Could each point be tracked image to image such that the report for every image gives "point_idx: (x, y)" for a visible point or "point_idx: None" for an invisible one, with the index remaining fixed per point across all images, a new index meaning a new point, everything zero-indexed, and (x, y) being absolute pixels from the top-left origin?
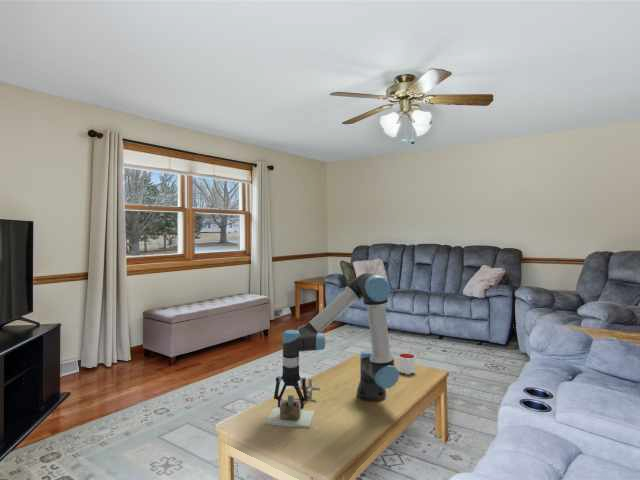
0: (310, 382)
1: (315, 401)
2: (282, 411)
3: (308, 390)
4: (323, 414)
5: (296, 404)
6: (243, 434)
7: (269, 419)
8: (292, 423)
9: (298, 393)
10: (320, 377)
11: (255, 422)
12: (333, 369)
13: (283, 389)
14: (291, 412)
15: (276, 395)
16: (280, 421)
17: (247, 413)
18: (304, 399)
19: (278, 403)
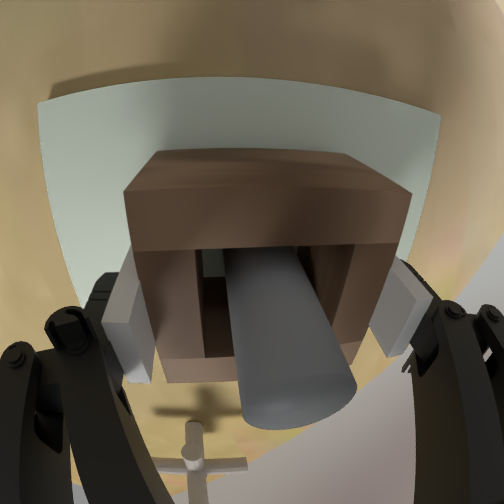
0: (194, 493)
1: (156, 409)
2: (359, 174)
3: (189, 460)
4: (45, 312)
5: (193, 321)
6: (492, 21)
7: (418, 157)
8: (203, 94)
9: (115, 489)
10: (206, 478)
11: (472, 145)
12: (186, 489)
13: (487, 466)
14: (231, 167)
15: (502, 341)
16: (333, 122)
17: (488, 243)
18: (29, 365)
19: (423, 284)
